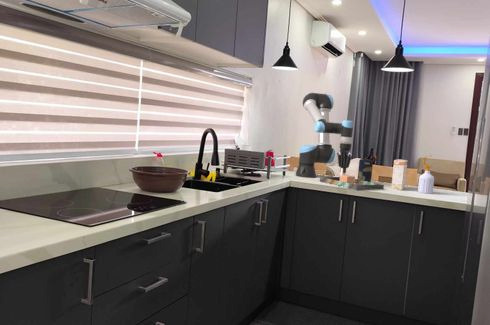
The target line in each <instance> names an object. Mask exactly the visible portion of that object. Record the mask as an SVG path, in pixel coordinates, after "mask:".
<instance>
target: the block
mask: <svg viewBox="0 0 490 325" xmlns="http://www.w3.org/2000/svg"><path fill="white" fill-rule="evenodd" d="M339 177H340V181H341V182H345V183H350V184H354V182H355V179H356V176H354V175H349V174H345V175H341V174H340V175H339Z"/></svg>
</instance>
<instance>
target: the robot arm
mask: <svg viewBox="0 0 490 325" xmlns="http://www.w3.org/2000/svg"><path fill="white" fill-rule="evenodd" d="M302 106H303V108H304V110H306V111H307V112H308V114H309V116H310V118H311V119H312V120H313V123H314V126H313V127H314V131H315V132H316V133H317V139H318V142H317V144H316V145H314V144H305V145H301V146H300V149H299V156H298V157H299V158H298V166H297V168H296V171H295V176H297V177H300V178H301V177H302V178H316V177H317V174H316V169H315V168H316V167H315V163H318V164H330V163H332V162H333V161H335V160H334V159H335V157H336V156H337V165H338V167H339V168H340V171H339V172H340V175H346V173H347V169H348V168H349V167H350V164H351V161H352V157H353V153H351V150H352V142H353V132H354V121H353V120H347V119H346V120H342V121H341V122H340V123H339V122H330V114H329V113H330V112H331V110H332V109H333V107H334V98H333V96H332V95H330V94H328V93H320V92H319V93H318V92H317V93H315V92H309V93H307V94H305V95H304V97H303V99H302ZM330 134H334V135H335V134H336V135H340V143H339V151H338V152H337V153H336V150H335V149H334V147H333V144H331V141H330V140H331V139H330V137H331V136H330Z"/></svg>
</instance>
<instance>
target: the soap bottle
mask: <svg viewBox="0 0 490 325" xmlns="http://www.w3.org/2000/svg"><path fill="white" fill-rule="evenodd" d="M429 157H431V155H427V156H424V157H423V167H425V168H426V169H424V173H422V174H421V175H419V178H418V179H419V180H418V184H417V185H418V186H417V192H418V193H421V194H428V195H431V194H433V193H434V185H435V176H433V175H432V174H431V170H430V168H431V167H433V165H427V164H426V159H427V158H429Z"/></svg>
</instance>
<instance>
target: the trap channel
mask: <svg viewBox="0 0 490 325" xmlns="http://www.w3.org/2000/svg"><path fill="white" fill-rule="evenodd" d="M319 182H320V183H324V182H325V184H328V183H331V184H330V185H332V184H334V186H337V185H339V186H338V187H341V186H343V187H342V188H345V187H346V189H350V190H355V191H368V190H370V189H383V190H384V186H385V184H381V183H376V182H372V181H371V182H367V181H362V180H358V178H357V179H356V178H355V182H354V183H355V184H350V183H345V182H341V181H340V176H339V177H337V176H336V177H335V176H333V177H332V176H329V177H328V176H324V177H323V176H321V177H319ZM370 191H371V190H370Z"/></svg>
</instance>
